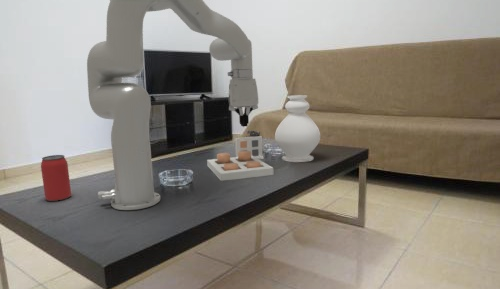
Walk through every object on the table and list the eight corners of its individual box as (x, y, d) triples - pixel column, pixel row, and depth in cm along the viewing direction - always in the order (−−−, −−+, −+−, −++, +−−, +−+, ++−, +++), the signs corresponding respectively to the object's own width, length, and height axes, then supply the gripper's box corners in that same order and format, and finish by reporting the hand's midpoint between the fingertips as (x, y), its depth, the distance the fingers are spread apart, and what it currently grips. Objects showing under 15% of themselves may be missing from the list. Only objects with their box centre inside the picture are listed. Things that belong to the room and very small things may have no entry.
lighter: (264, 153, 155) (264, 130, 153) (260, 154, 152) (259, 131, 150) (248, 151, 159) (248, 129, 157) (244, 153, 156) (244, 130, 154)
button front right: (249, 173, 120) (248, 164, 120) (244, 170, 125) (244, 161, 124) (262, 172, 121) (262, 163, 121) (257, 168, 126) (257, 160, 125)
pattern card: (237, 161, 140) (236, 139, 138) (234, 159, 144) (234, 137, 142) (263, 159, 143) (263, 137, 142) (260, 157, 147) (260, 135, 145)
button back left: (218, 164, 127) (218, 155, 126) (215, 161, 131) (215, 153, 131) (231, 162, 128) (231, 154, 128) (228, 160, 133) (228, 152, 132)
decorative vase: (299, 166, 130) (299, 97, 125) (266, 159, 143) (264, 96, 139) (329, 158, 141) (330, 94, 137) (295, 152, 155) (295, 94, 150)
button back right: (240, 161, 129) (240, 153, 129) (236, 159, 134) (236, 151, 133) (252, 160, 131) (252, 152, 130) (248, 158, 135) (248, 150, 134)
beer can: (53, 203, 97) (47, 160, 95) (40, 199, 100) (34, 158, 98) (76, 196, 102) (71, 155, 100) (63, 193, 106) (58, 153, 104)
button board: (221, 181, 114) (220, 173, 113) (207, 166, 134) (207, 159, 134) (273, 174, 119) (273, 167, 119) (252, 161, 140) (252, 155, 139)
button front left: (226, 175, 118) (225, 166, 117) (222, 172, 122) (222, 163, 122) (240, 174, 119) (239, 165, 119) (236, 170, 124) (235, 162, 123)
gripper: (224, 75, 121) (227, 129, 124) (265, 74, 125) (267, 125, 129) (219, 75, 128) (221, 126, 131) (258, 74, 132) (260, 123, 136)
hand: (244, 125), depth 130 cm, fingers closed
